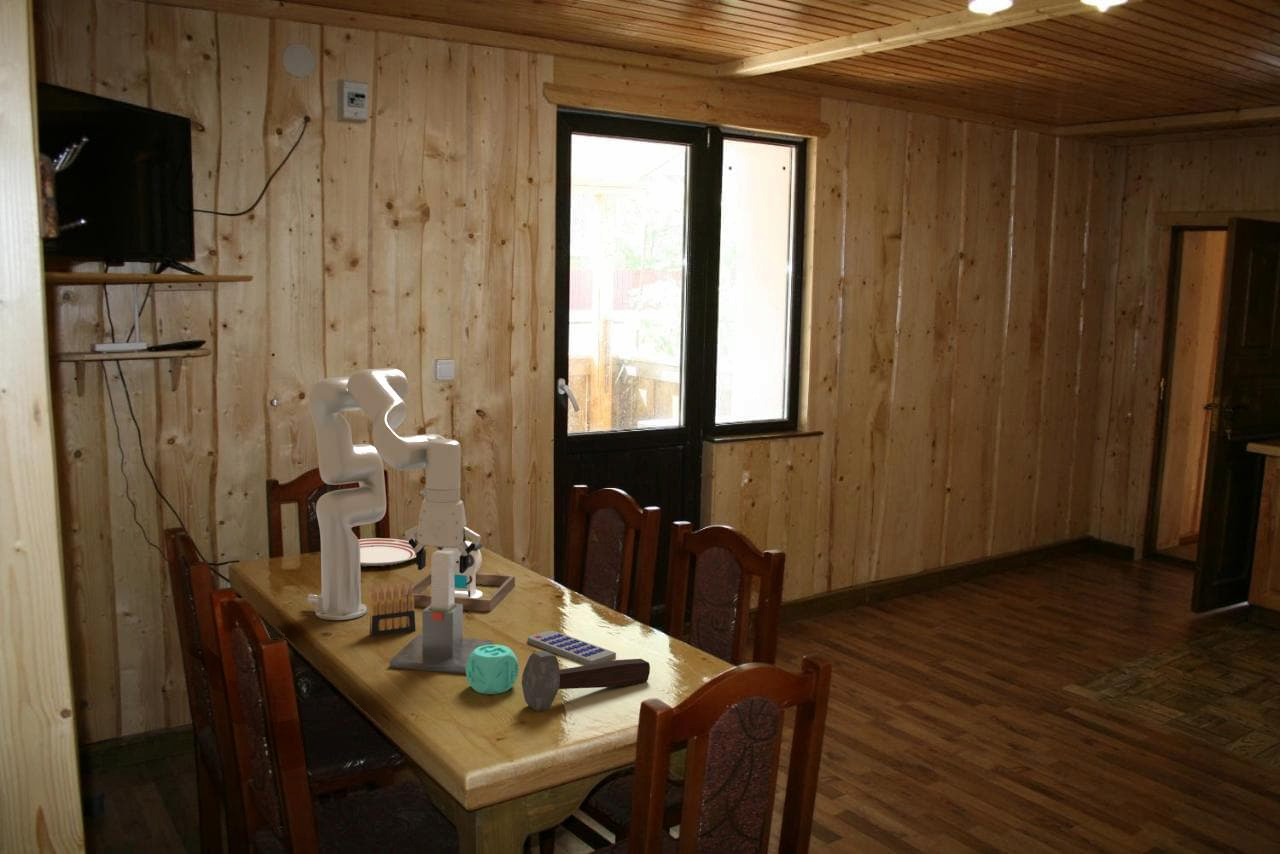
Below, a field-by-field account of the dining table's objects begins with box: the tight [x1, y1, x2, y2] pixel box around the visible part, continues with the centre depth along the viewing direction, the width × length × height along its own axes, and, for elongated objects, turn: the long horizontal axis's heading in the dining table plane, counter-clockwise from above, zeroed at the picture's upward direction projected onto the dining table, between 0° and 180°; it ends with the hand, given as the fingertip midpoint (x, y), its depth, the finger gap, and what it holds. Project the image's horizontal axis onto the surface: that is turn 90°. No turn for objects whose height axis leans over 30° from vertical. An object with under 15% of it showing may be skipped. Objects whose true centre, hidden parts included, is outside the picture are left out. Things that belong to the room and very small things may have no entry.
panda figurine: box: [436, 540, 483, 599], centre depth 284 cm, size 12×11×15 cm
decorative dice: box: [465, 644, 520, 695], centre depth 220 cm, size 8×8×8 cm
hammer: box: [521, 650, 651, 712], centre depth 218 cm, size 5×11×30 cm
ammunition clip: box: [369, 582, 416, 637], centre depth 252 cm, size 11×2×12 cm, turn 118°
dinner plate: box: [358, 537, 416, 567], centre depth 319 cm, size 28×27×3 cm
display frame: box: [406, 571, 516, 612], centre depth 284 cm, size 24×24×3 cm
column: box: [430, 549, 455, 612], centre depth 236 cm, size 4×4×16 cm
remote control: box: [527, 630, 617, 666], centre depth 245 cm, size 8×23×2 cm, turn 47°
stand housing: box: [389, 603, 494, 675], centre depth 237 cm, size 18×18×12 cm
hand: (442, 570), depth 235 cm, fingers open, 9 cm apart
